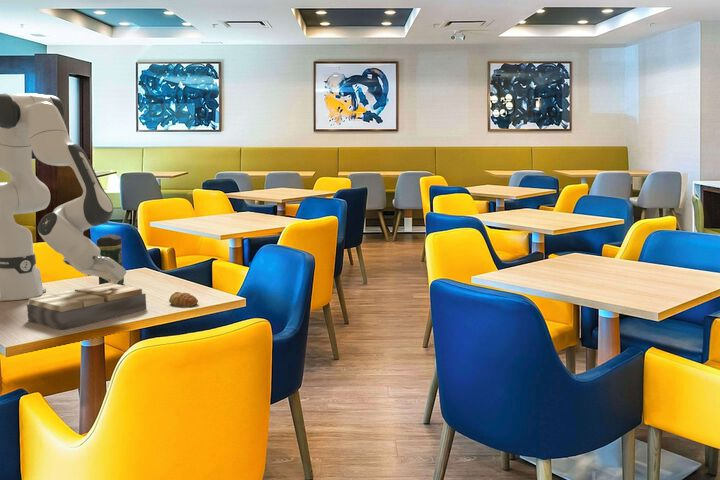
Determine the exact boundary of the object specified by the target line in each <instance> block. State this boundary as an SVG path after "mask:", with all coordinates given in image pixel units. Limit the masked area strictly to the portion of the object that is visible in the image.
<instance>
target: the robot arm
mask: <svg viewBox="0 0 720 480" xmlns="http://www.w3.org/2000/svg"><path fill="white" fill-rule="evenodd" d="M65 115H66V114H65V107H64V104H63V102H62V100H61V99H60V98H59V97H57V96H55V95H51V94H41V93H40V94H39V93H33V92H32V93H31V92H30V93H29V92H25V93H10V94H9V93H0V171H1V172H4V173H6V174H7V175H9V176H10V177H9V178H10V179H9V181H4V182H0V302H2V301H3V302H4V301H19V300H25V299H31V298H36V297H40V296H42V295H43V294H44V293H45V292H47V288H46V287H43V281H42V277H41V276H42V275H41V274H42V273H41V270H40V268H38V266H37V265H36V264H37V257H36V254H35V252H34V242H33V241H34V240H33V234H32V231H31V230H30V228H28V227H26V226H24V225H21V224H18V223H17V222H16V221H15V220H16V219H15V217H14V215H21V214H31V213H32V214H33V213H35V212H39V211H42V210H46V209H47V208H48V206H49V205H50V202H51V192H50V189H49V188H48V185H46V184H45V183H44V182H43V181H41V180H40V179H39V178H38V177H37V176H36V173H35V172H34V169H33V163H32V162H33V156H32V154H34V156H35V158H36V159H37V160H39V162H42V163H43V164H45V165H48V166H49V165H50V166H56V167H70V168H71V169H72V170H73V172H74V174H75V177H76V178H77V180H78V183H79V184H80V186H81V189H82V195H81V196H79V197H77V198H74V199H72V200H69V201H67V202H65V203H64V202H63V204H60V205H58V206H57V207H55V208H54V209H52V212H49V213H46V214H45V215H44V216H43V217H42V218H41V219H40V221H39V222H38V225H37V232H38V234H39V237H41V239H42V240H43V242H45V243H46V244H47V245H48V246H49V247H50V248H51V249H52V250H53V251H55V252H56V253H58V254H60V255H62V256H63V260H62V261H63V263H64V264H66V265H68V266H71V267H72V268H73V269H75V270H76V271H78V272H79V273H81V274H84V275H87V276H88V275H89V276H93V277H98V278H99V277H102V278H104V279H105V280H107V281H108V282H110V283H114V284H117V283H118V282H119V281H120V280H122V279H123V277H124V278H125V276H126V274H127V270H126V269H125V268H124V266H123V267H122V266H121V265H119V264H118V263H117V262H115V261H114V260H113V259H111V258H108V257H103V256H101V255H100V248H99V247H98V246H97V244H95V242H93V241H92V240H91V239H90V238H89V237H87V236H85V235H84V232H85V231H87V230H89V229H92V228H94V227H97V226H101V225H105V224H106V223H107V224H108V223H109V221H110V220H111V219H112V216H113V212H114V205H113V202H112V200H111V198H110V197H109V195H108V193H106V191H105V190H104V188H103V186H102V184H101V182H100V180H99V178H98V175H97V174H96V171H95V168H94V167H93V165H92V163H91V161H90V159H89V157H88V155H87V153H86V152H85V151H84V149H83V147H81V146H80V145H79V144H78V143H77V144H76V143H74V142H73V141H72V140H71V138H70V135H69V131H68V129H67V126H66V124H65Z"/></svg>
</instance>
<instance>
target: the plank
mask: <svg viewBox="0 0 720 480" xmlns="http://www.w3.org/2000/svg"><path fill="white" fill-rule="evenodd" d="M74 291H77V292H81V293H86V294H91V295H96V296H101V297H104V301H111V300H116V299H121V298H125V297H130V296H135V295H139V294H142V293H143V289H142V288H138V287H134V286H130V285H129V286H127V285H123V284H122V285H118V284H112V283H105V284H100V285H99V284H96V285H90V286H84V287H81V288H75V289H74Z"/></svg>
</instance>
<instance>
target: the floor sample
mask: <svg viewBox="0 0 720 480" xmlns="http://www.w3.org/2000/svg"><path fill="white" fill-rule="evenodd" d="M145 310H147V295H146V292H142V294H139V295H135V296H130V297H125V298H121V299H116V300H111V301H104V297H101V296H96V295H91V294H86V293H81V292H77V291H75V290H67V291H61V292H55V293H51V294H47V295H40V296H36V297H32V298H28V304H26V312H27V321H28V322H30V323H34V324H39V325H42V326H46V327H49V328H52V329H57V330H59V331H65V330H68V329H73V328H76V327H80V326H85V325H89V324H92V323H97V322H101V321H105V320H109V319H112V318H117V317H120V316H126V315H129V314H133V313H137V312H141V311H145Z"/></svg>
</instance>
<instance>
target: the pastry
mask: <svg viewBox="0 0 720 480" xmlns="http://www.w3.org/2000/svg"><path fill="white" fill-rule="evenodd" d="M168 302H169V303H170V304H171V306H175V307H184V308H185V307H186V308H187V307H193V306H195V305H198V303H199V300H198V298H197V297H196V296H194V295H193V294H190V293H189V292H180V291H174V293H173V294H172V293H171V295H170V297H169V299H168Z"/></svg>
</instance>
